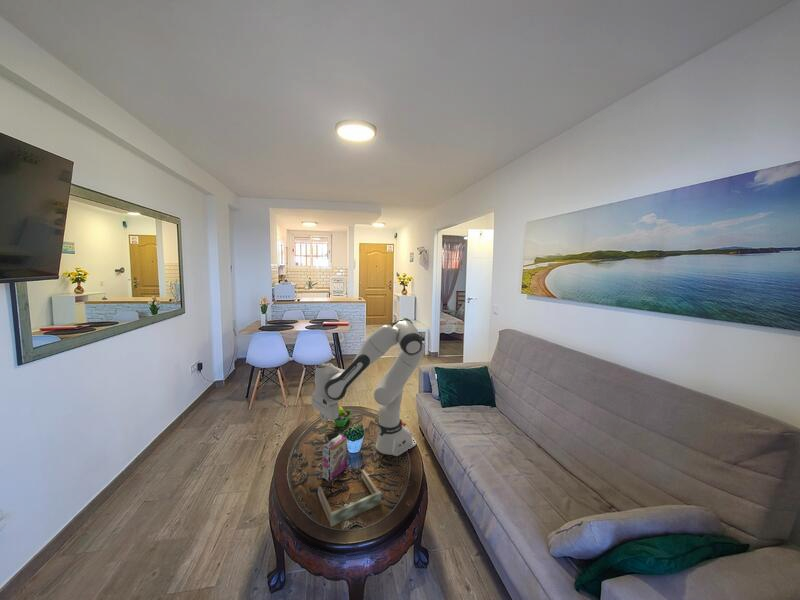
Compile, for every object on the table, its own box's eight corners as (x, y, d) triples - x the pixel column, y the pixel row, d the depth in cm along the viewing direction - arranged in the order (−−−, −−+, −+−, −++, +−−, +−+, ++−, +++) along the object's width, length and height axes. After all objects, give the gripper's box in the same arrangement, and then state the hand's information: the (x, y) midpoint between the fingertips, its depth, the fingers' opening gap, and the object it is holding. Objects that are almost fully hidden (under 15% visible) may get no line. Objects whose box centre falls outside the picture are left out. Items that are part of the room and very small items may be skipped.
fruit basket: (344, 428, 176) (344, 411, 174) (330, 426, 177) (330, 409, 176) (351, 418, 187) (351, 401, 185) (338, 416, 188) (338, 400, 187)
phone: (330, 450, 155) (324, 434, 168) (330, 452, 155) (324, 436, 168) (345, 446, 158) (338, 431, 172) (345, 448, 159) (338, 433, 172)
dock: (363, 477, 138) (363, 467, 137) (381, 503, 124) (381, 492, 123) (317, 495, 127) (317, 484, 126) (331, 526, 112) (331, 515, 112)
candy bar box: (329, 482, 134) (329, 449, 132) (322, 478, 137) (321, 445, 134) (347, 468, 143) (347, 437, 141) (339, 464, 146) (339, 433, 143)
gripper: (308, 389, 153) (308, 414, 155) (329, 404, 138) (329, 431, 141) (318, 386, 157) (319, 410, 159) (341, 400, 143) (341, 426, 145)
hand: (324, 420), depth 150 cm, fingers closed
